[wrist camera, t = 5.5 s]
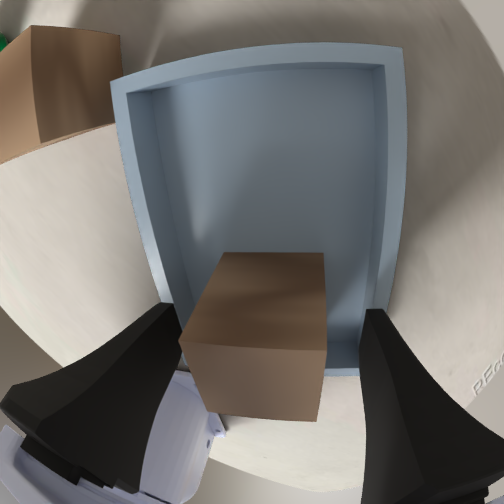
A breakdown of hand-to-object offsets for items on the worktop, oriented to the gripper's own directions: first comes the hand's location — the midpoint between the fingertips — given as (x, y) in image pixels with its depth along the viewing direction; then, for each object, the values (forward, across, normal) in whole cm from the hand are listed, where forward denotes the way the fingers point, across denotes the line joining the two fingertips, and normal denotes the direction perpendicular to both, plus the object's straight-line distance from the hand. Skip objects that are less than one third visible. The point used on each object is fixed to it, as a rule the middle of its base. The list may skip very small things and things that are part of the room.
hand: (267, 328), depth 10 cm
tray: (+3, 0, -3) cm, 4 cm away
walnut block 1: (+3, +8, -10) cm, 13 cm away
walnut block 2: (+2, 0, 0) cm, 2 cm away
